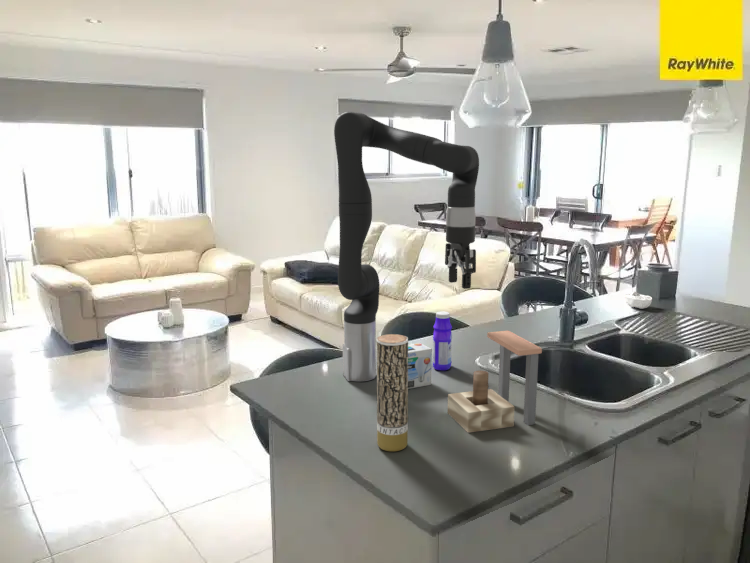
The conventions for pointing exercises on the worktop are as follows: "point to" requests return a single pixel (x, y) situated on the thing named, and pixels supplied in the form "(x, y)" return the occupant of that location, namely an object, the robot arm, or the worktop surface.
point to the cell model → (638, 300)
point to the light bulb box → (419, 365)
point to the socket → (480, 412)
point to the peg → (480, 388)
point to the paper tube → (392, 392)
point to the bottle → (442, 341)
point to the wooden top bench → (531, 351)
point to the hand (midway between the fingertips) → (459, 285)
